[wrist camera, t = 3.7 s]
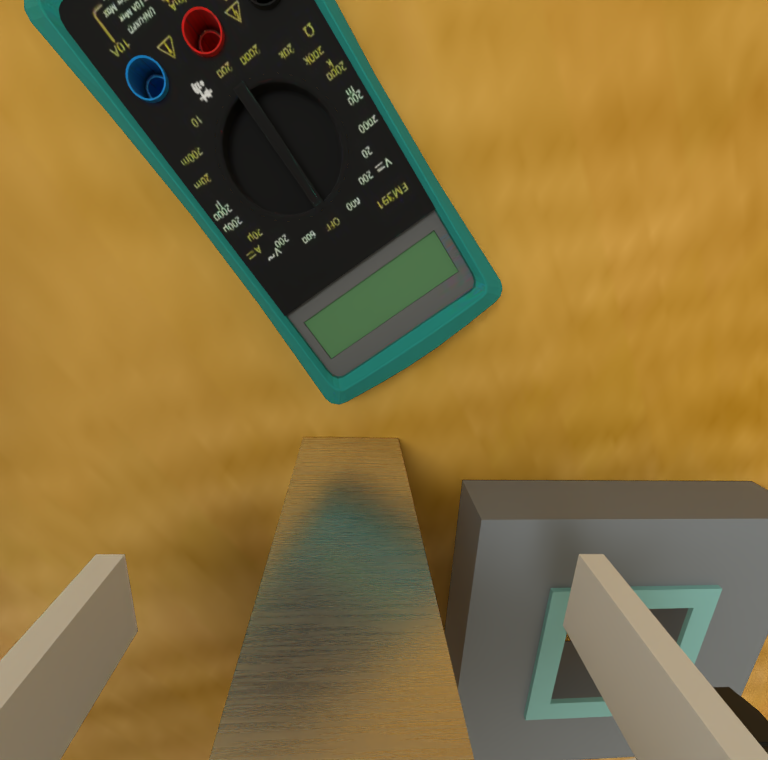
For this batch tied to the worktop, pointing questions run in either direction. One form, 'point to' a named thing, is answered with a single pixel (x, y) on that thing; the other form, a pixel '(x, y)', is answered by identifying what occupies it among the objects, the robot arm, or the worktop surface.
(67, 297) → the worktop surface
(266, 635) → the square bit
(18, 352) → the worktop surface
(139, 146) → the digital multimeter
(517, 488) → the socket plate
